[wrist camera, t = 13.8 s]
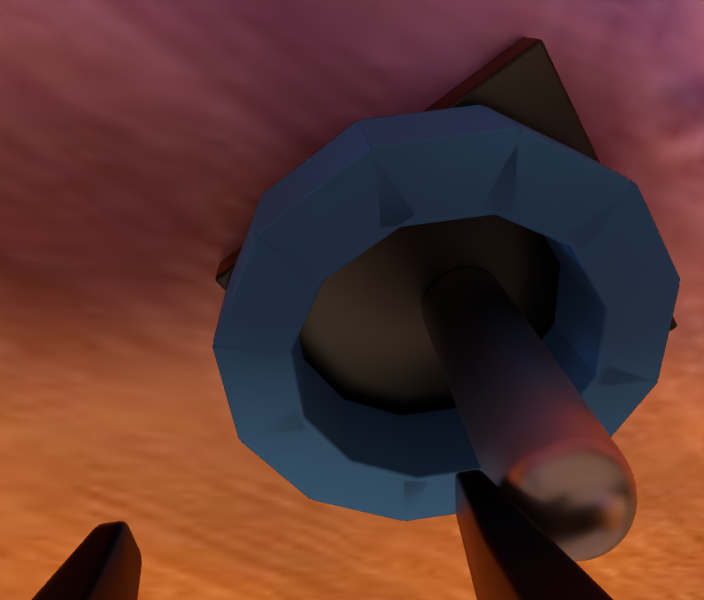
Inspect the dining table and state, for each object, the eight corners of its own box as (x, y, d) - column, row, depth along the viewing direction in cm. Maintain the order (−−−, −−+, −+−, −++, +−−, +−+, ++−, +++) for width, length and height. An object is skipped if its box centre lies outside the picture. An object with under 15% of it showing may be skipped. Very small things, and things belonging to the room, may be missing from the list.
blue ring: (379, 499, 17) (390, 567, 15) (144, 284, 13) (115, 338, 11) (670, 333, 15) (729, 386, 13) (506, 4, 11) (557, 5, 9)
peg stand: (405, 455, 18) (476, 752, 11) (218, 262, 14) (136, 533, 7) (658, 309, 16) (947, 556, 9) (524, 34, 12) (855, 84, 5)
